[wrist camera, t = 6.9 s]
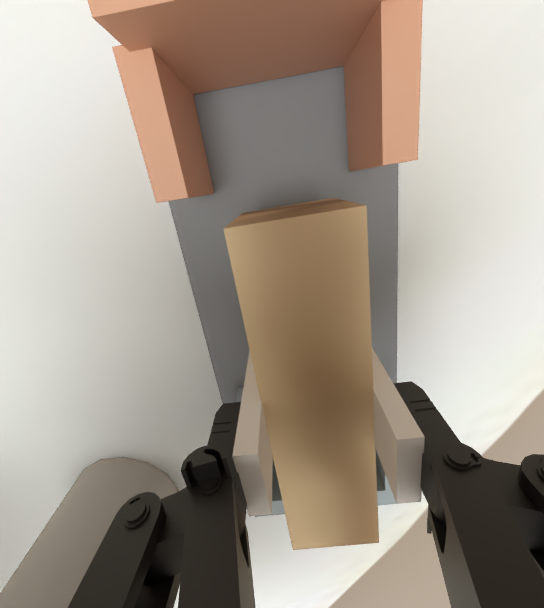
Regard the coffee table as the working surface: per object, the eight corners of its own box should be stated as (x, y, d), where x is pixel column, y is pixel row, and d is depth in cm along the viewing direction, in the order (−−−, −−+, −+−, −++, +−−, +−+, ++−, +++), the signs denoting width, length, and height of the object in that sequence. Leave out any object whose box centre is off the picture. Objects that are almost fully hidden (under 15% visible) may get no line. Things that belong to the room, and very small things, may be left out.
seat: (238, 455, 23) (228, 529, 18) (127, 39, 13) (40, -48, 8) (394, 439, 22) (428, 511, 17) (396, -16, 12) (476, -147, 8)
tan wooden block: (288, 458, 18) (293, 550, 14) (242, 212, 13) (223, 228, 8) (352, 451, 18) (378, 542, 14) (333, 197, 13) (366, 205, 8)
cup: (130, 442, 22) (29, 622, 13) (198, 502, 25) (154, 689, 16) (56, 484, 24) (-78, 668, 15) (127, 536, 27) (49, 722, 18)
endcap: (192, 197, 15) (131, 206, 9) (158, 57, 13) (45, -69, 7) (372, 167, 15) (449, 153, 8) (369, 15, 13) (471, -168, 6)
